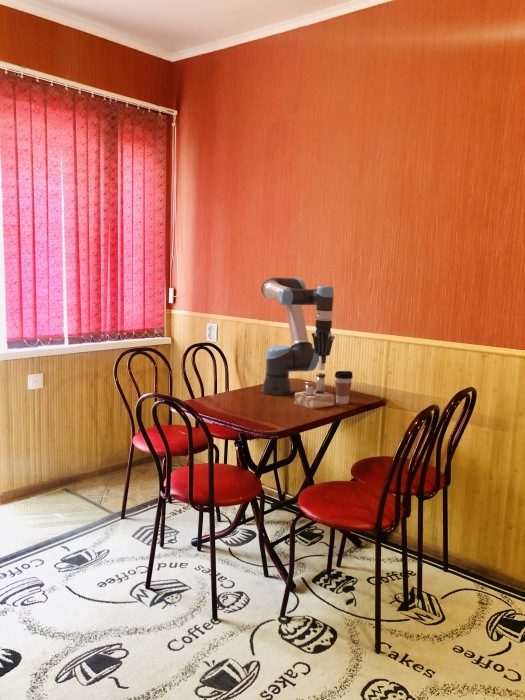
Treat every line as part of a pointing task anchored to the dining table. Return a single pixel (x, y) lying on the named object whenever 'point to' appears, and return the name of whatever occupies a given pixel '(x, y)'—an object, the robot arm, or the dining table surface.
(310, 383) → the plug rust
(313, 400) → the beech block
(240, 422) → the dining table surface
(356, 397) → the dining table surface
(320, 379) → the grey capped glass jar
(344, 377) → the coffee cup
